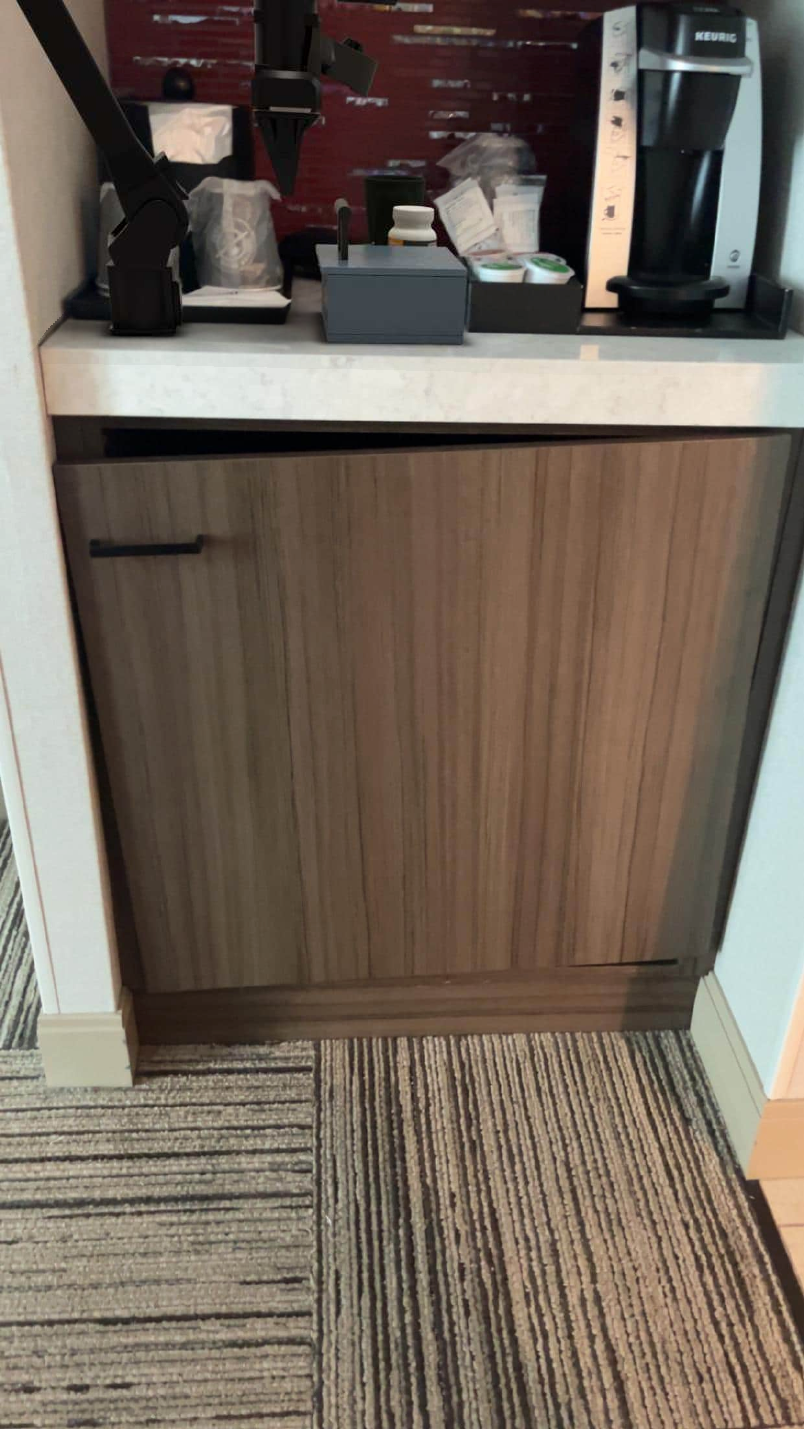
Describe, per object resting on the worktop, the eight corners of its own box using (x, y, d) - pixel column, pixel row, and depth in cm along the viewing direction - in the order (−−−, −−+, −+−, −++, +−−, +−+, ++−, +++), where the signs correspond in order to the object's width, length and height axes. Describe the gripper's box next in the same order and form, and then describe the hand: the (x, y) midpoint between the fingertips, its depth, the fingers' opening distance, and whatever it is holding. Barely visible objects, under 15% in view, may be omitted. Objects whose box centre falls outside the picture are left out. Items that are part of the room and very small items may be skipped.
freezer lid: (321, 274, 102) (320, 210, 99) (315, 251, 114) (315, 193, 111) (466, 276, 103) (470, 213, 101) (446, 254, 116) (449, 197, 113)
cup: (360, 285, 133) (361, 179, 127) (364, 275, 140) (365, 173, 133) (421, 288, 133) (425, 181, 127) (422, 278, 140) (426, 176, 133)
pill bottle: (380, 302, 124) (382, 208, 119) (392, 293, 129) (395, 203, 124) (428, 306, 123) (432, 212, 118) (438, 297, 128) (442, 206, 123)
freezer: (327, 342, 105) (327, 274, 102) (321, 313, 118) (321, 251, 114) (462, 344, 107) (466, 277, 104) (443, 315, 119) (446, 254, 116)
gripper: (382, -1, 89) (376, 204, 97) (366, 9, 105) (362, 184, 113) (248, -9, 88) (253, 199, 96) (253, 2, 104) (257, 180, 112)
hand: (287, 190), depth 104 cm, fingers open, 9 cm apart
